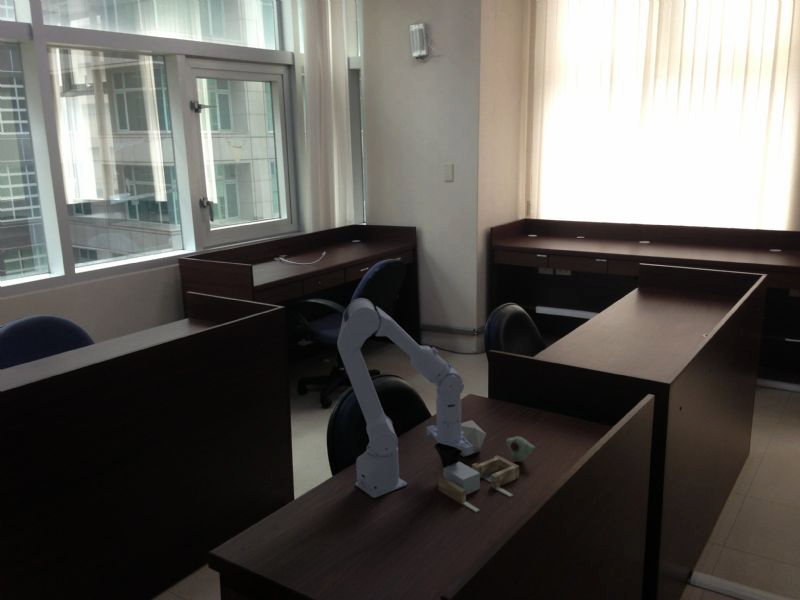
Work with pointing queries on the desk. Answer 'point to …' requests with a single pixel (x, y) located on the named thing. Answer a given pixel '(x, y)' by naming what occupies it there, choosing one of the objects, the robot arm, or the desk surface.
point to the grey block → (463, 476)
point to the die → (473, 435)
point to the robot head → (519, 448)
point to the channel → (491, 470)
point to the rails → (477, 508)
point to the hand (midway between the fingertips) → (449, 471)
